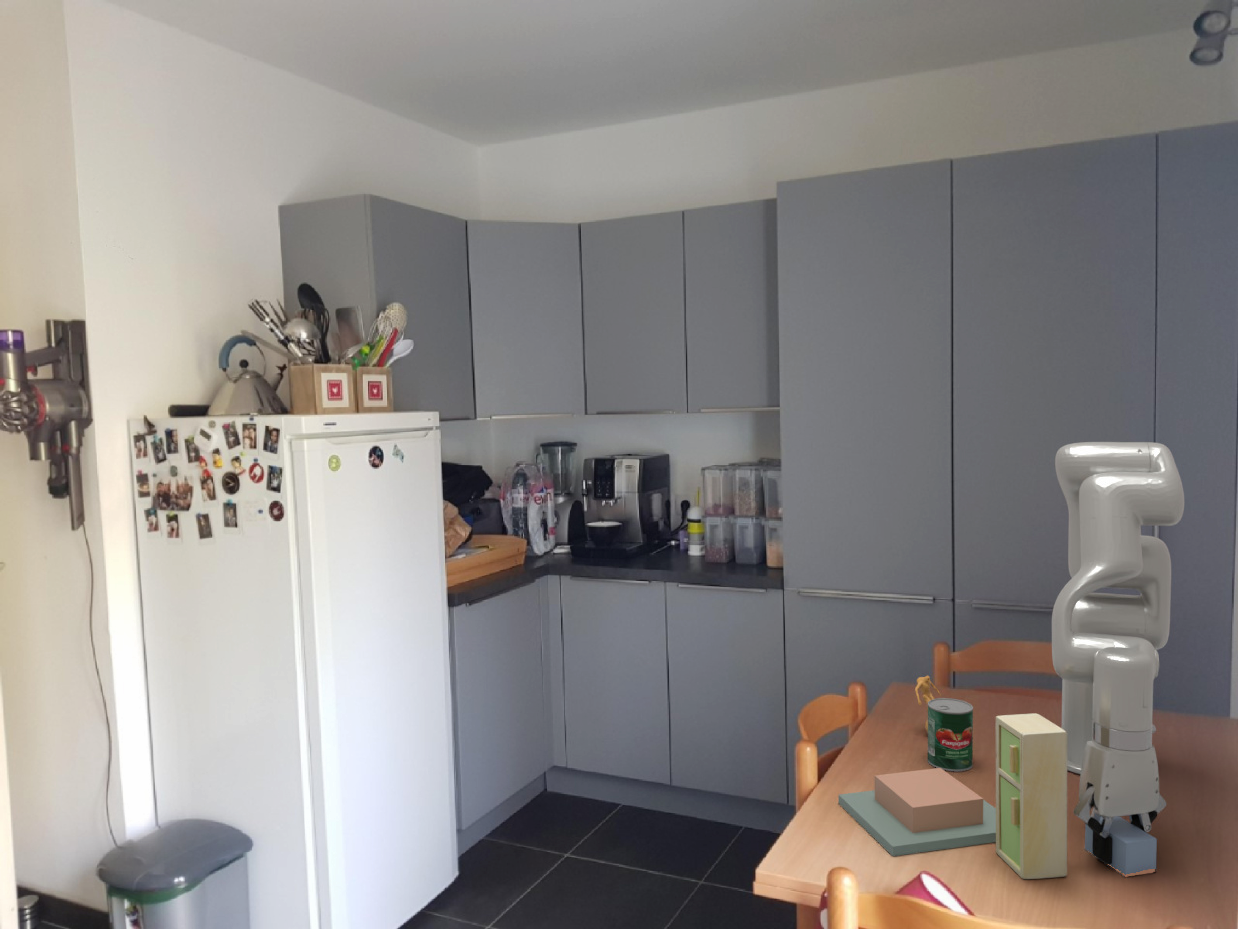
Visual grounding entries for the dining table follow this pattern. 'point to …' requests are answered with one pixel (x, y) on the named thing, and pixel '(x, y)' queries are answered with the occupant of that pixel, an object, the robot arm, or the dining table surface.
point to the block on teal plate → (922, 812)
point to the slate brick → (1127, 846)
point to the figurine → (925, 692)
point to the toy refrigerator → (1031, 795)
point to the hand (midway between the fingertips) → (1119, 855)
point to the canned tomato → (950, 734)
